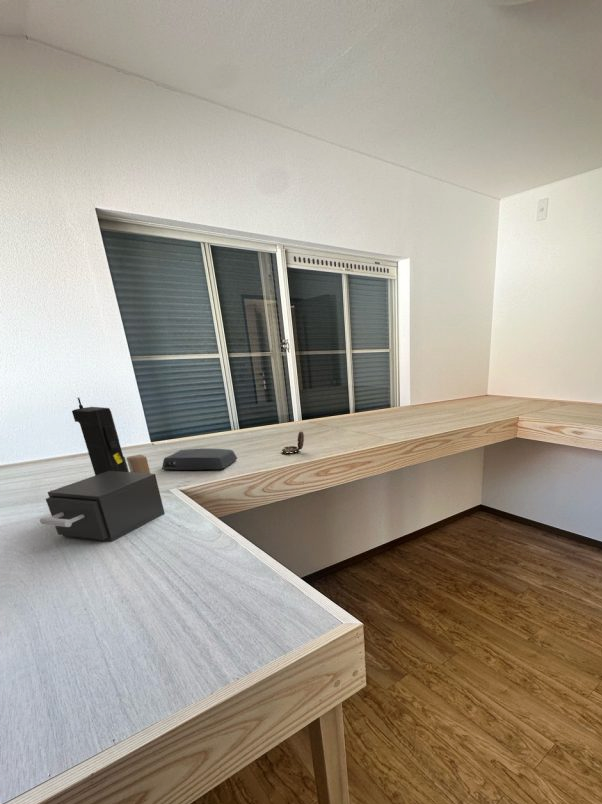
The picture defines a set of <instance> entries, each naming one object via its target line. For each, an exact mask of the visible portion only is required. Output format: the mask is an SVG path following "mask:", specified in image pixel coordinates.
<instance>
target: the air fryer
mask: <svg viewBox="0 0 602 804" xmlns="http://www.w3.org/2000/svg"><path fill="white" fill-rule="evenodd" d="M47 495H48V498H49V497H59V498H61V497H68V498H79V499H90V500H97V501H98V505H99V508H100V511H101V514H102V518H103V521H104V524H105V527H106V531H107V534H108V538H106V539H104V540H102V539H95V541H96V540H97V541H104V542H105V541H106V542H114V541H116V540H119V539H120V538H122V537H123V536H125V535H128V534H129V533H131V532H133V531H135V530H137V529H138V528H140V527H143V526H144V525H146V524H148V523H150V522H152V521H154V520H155V519H158V518H159V517H161V516H162V515H165V514H166V513H165V509H164V505H163V501H162V500H163V499H162V497H161V493H160V488H159V485H158V480H157V476H156V473H151V472H150V473H135V472H130V471H129V472H120V471H107V472H104V473H101V474H98V475H95V474H94V475H92V476H90V477H87V478H84V479H81V480H78V481H76V482H73V483H70V484H67V485H64V486H61V487H59V488H56V489H53V490H50V491H47ZM62 536H63V537H68V536H67V535H62ZM69 537H71V538H77V537H76V536H69ZM78 538H79V539H86V540H87V539H88V540H94V539H93V538H85V537H78Z"/></svg>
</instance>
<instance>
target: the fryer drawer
mask: <svg viewBox="0 0 602 804" xmlns="http://www.w3.org/2000/svg"><path fill="white" fill-rule="evenodd" d="M45 501H46V504H47V507H48V509H49V512H50V516H48V517H47V516H43V517H41V518H40V519H39V523H40V524H41V525H44V526H45V525H46V526H53V527H55V530H56V532H57V534H58V535H59V536H63V535H67V536H66V537H70V536H76V537H75V538H79V537H85V538H84V539H87V538H93V539H92V540H96V539H102V540H101V541H104V539H106V538H108V534H107V531H106V527H105V524H104V521H103V518H102V514H101V511H100V508H99V505H98V501H97V500H90V499H79V498H68V497H61V498H59V497H49V496H48V497H46V498H45Z"/></svg>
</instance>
